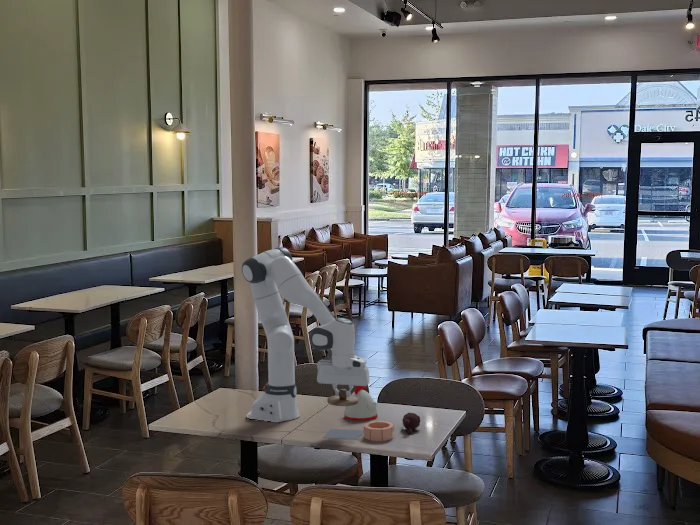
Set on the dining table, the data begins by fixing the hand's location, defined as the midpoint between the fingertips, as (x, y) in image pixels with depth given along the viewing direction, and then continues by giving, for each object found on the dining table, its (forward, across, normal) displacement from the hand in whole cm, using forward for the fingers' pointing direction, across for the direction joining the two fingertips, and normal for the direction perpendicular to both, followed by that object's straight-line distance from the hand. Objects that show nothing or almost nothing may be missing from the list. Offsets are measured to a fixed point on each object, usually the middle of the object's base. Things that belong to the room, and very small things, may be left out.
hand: (342, 395), depth 308 cm
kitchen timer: (+16, +2, +26) cm, 30 cm away
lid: (+2, 0, 0) cm, 3 cm away
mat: (+16, +1, 0) cm, 16 cm away
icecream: (+15, +25, +12) cm, 31 cm away
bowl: (+15, +15, -1) cm, 21 cm away
